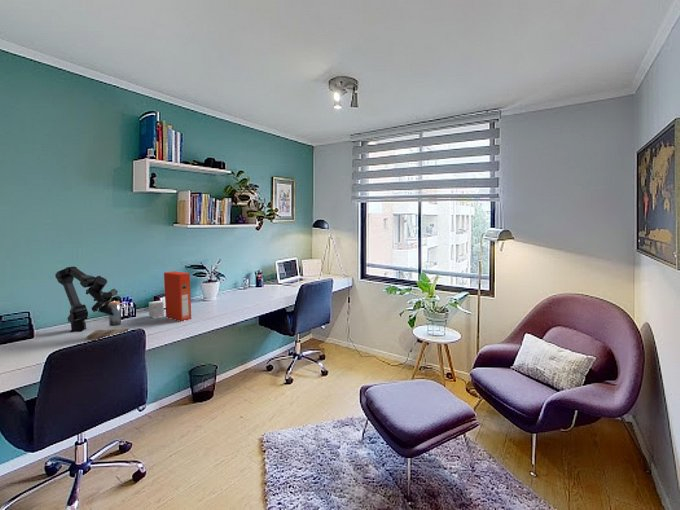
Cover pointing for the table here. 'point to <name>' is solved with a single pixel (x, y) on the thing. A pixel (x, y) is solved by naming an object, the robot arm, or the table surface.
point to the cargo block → (114, 303)
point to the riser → (104, 333)
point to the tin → (115, 315)
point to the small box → (156, 309)
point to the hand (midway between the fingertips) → (117, 313)
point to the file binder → (177, 295)
